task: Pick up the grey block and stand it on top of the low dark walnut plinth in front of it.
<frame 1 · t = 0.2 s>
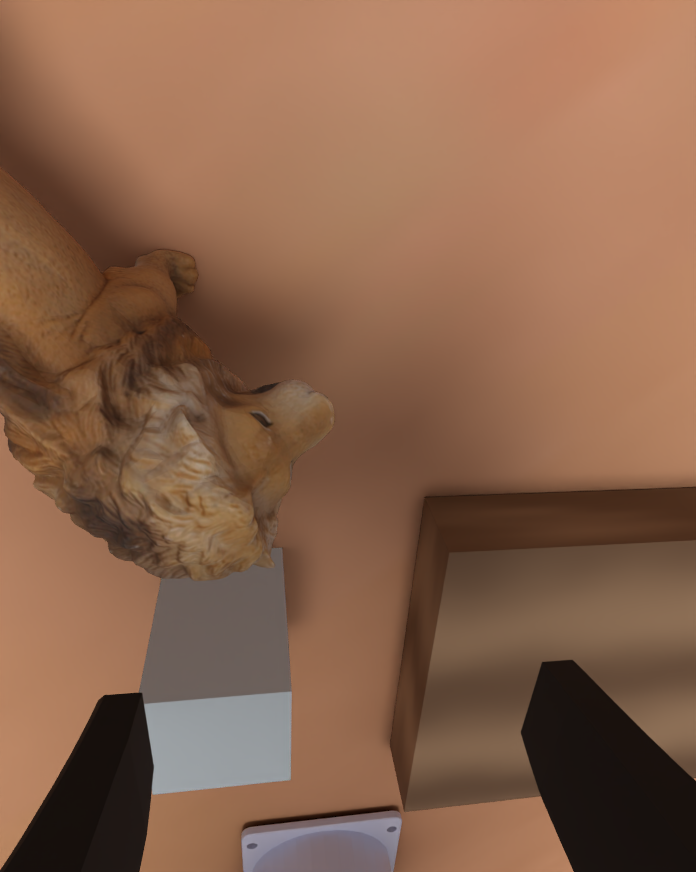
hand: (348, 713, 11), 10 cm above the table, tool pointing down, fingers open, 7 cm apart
grey block: (227, 592, 22), on the table
lion figurine: (84, 211, 15), on the table
walnut plinth: (586, 625, 25), on the table
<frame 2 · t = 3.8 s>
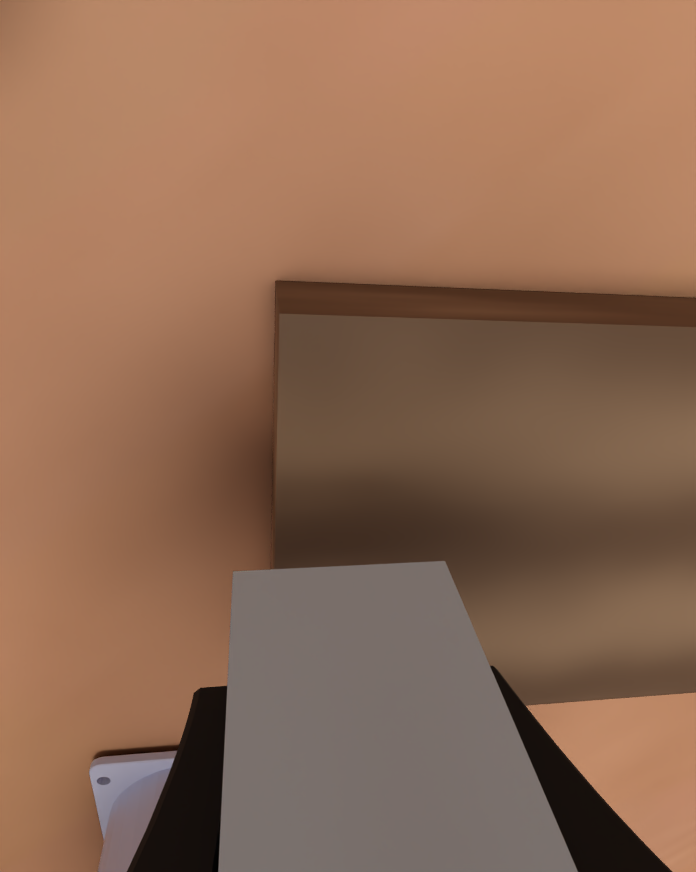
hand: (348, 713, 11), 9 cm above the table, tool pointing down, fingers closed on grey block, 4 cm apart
grey block: (336, 642, 12), point 7 cm above the table, touching gripper
walnut plinth: (506, 495, 20), on the table
when the fingers open (6 cm above the table, at t = 5.6 s): grey block drops 1 cm, resting on walnut plinth.
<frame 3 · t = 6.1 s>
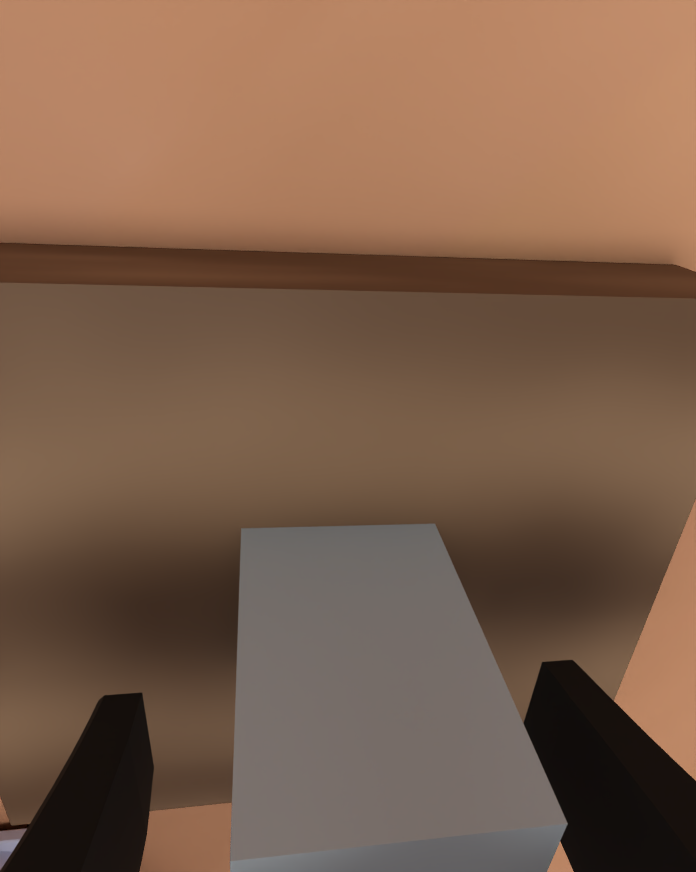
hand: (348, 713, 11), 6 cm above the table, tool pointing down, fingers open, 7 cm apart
grey block: (334, 599, 13), point 3 cm above the table, touching walnut plinth
walnut plinth: (319, 523, 16), on the table
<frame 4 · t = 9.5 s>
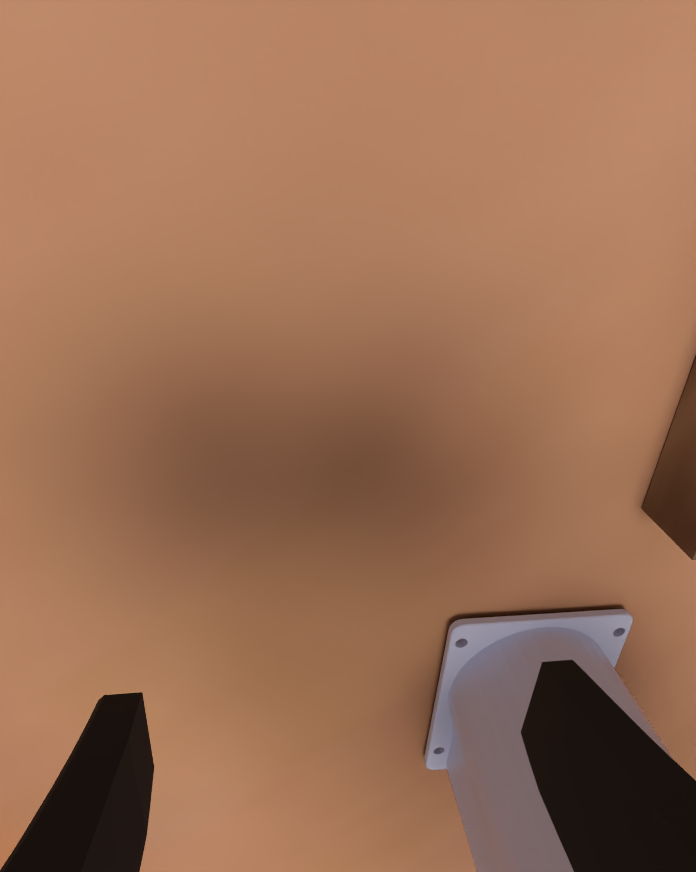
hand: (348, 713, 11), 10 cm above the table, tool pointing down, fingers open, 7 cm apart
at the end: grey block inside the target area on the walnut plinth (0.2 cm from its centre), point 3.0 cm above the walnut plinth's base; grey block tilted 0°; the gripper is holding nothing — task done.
